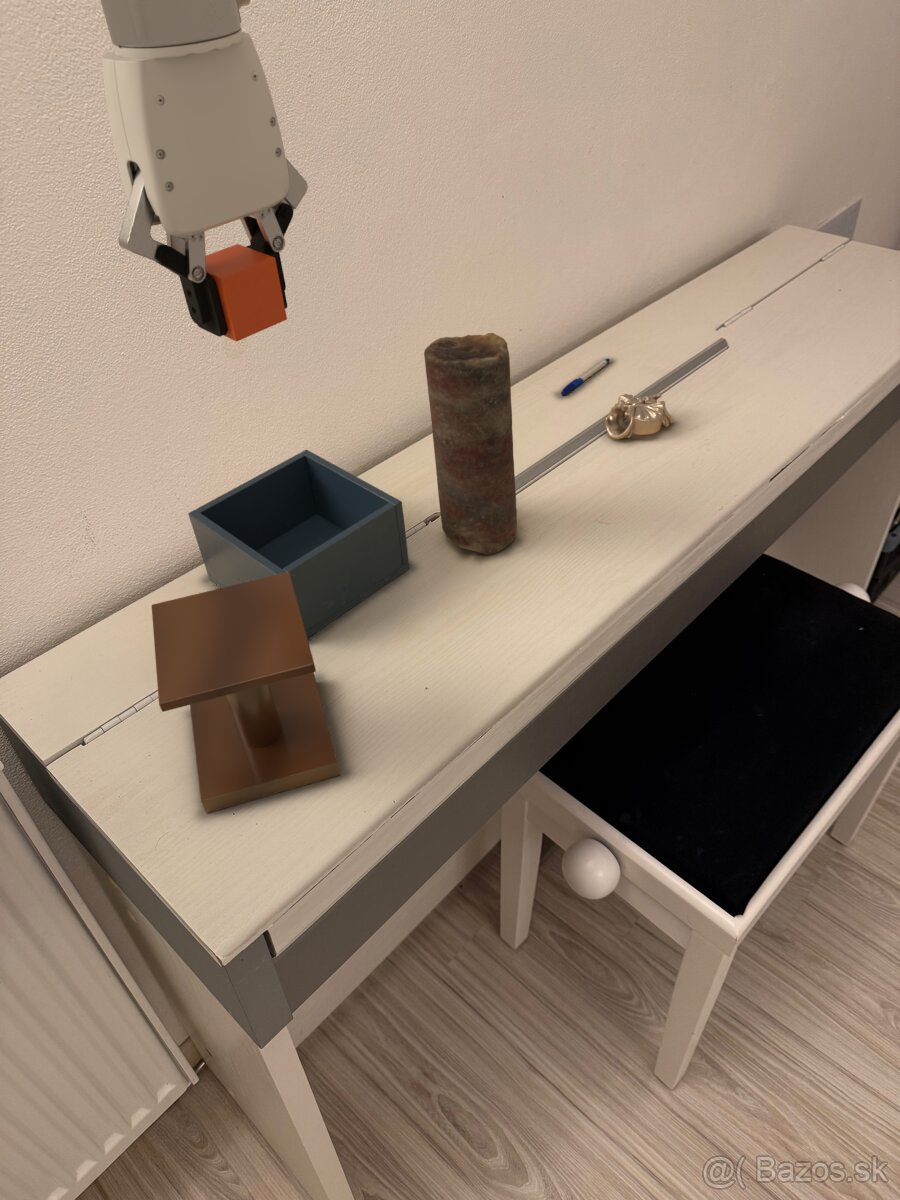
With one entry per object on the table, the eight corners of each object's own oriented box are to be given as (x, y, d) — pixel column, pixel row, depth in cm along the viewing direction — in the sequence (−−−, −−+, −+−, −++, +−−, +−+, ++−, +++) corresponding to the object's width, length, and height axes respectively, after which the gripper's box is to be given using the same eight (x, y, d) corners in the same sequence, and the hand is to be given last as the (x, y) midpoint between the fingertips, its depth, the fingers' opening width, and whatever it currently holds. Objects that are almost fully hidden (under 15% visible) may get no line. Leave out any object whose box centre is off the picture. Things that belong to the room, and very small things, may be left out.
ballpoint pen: (566, 397, 104) (566, 390, 103) (560, 396, 104) (560, 388, 103) (610, 363, 110) (610, 355, 109) (604, 361, 110) (604, 354, 109)
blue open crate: (297, 645, 75) (280, 577, 69) (209, 579, 82) (187, 513, 77) (410, 568, 81) (402, 501, 76) (319, 513, 89) (306, 448, 84)
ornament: (649, 404, 101) (652, 376, 99) (683, 432, 96) (687, 402, 94) (589, 422, 99) (591, 393, 97) (621, 450, 94) (624, 421, 92)
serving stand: (205, 813, 62) (158, 704, 54) (194, 713, 69) (150, 604, 61) (340, 775, 64) (314, 663, 56) (315, 681, 71) (289, 571, 63)
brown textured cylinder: (428, 548, 84) (409, 356, 70) (456, 505, 88) (443, 319, 75) (502, 563, 81) (497, 368, 68) (527, 518, 86) (527, 328, 73)
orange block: (236, 342, 60) (221, 278, 57) (200, 325, 63) (184, 263, 60) (287, 319, 62) (275, 257, 59) (251, 304, 65) (237, 243, 62)
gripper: (253, -10, 56) (302, 268, 69) (6, 38, 48) (112, 345, 60) (325, -3, 52) (364, 291, 64) (70, 50, 44) (170, 377, 56)
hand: (242, 315), depth 62 cm, fingers closed on orange block, 4 cm apart
